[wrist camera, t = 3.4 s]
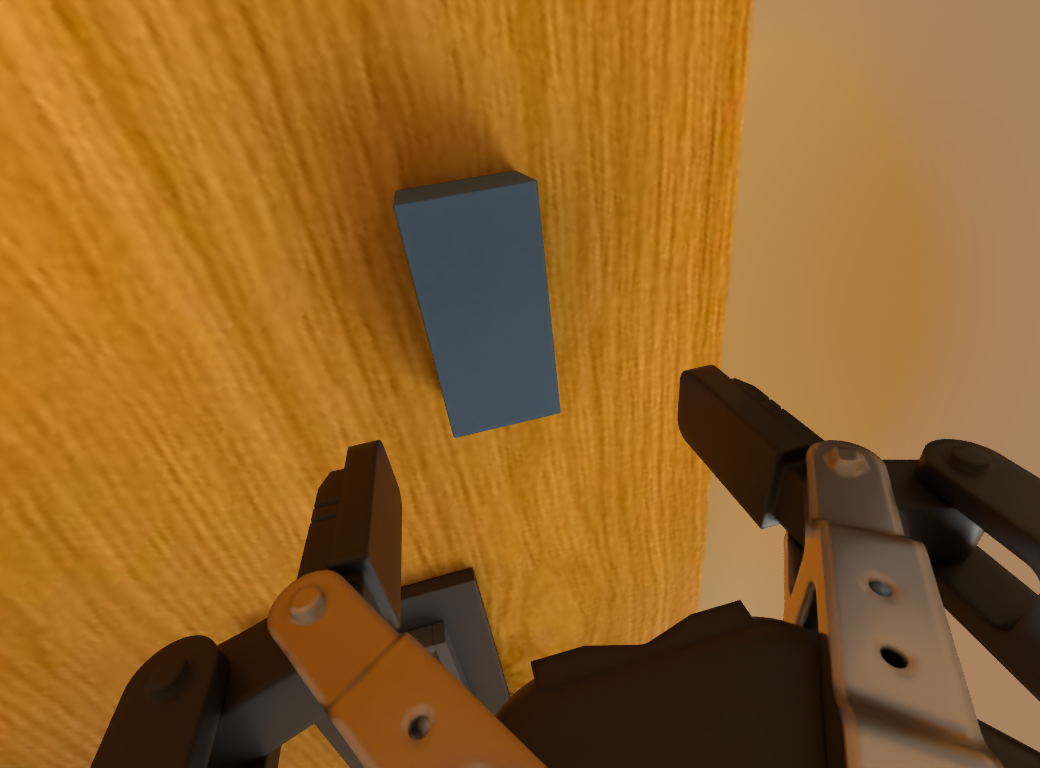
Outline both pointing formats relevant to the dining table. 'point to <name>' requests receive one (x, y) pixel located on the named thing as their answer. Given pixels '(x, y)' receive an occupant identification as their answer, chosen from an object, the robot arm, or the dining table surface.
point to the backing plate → (446, 642)
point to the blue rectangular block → (483, 297)
